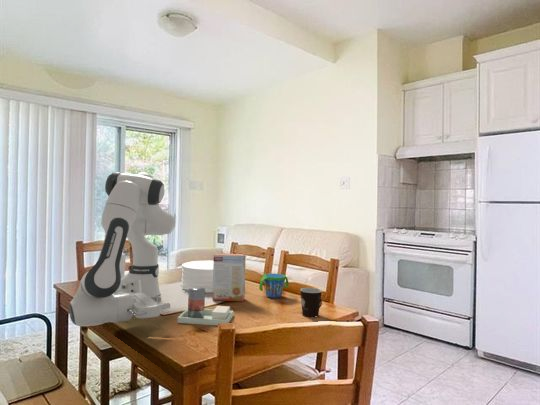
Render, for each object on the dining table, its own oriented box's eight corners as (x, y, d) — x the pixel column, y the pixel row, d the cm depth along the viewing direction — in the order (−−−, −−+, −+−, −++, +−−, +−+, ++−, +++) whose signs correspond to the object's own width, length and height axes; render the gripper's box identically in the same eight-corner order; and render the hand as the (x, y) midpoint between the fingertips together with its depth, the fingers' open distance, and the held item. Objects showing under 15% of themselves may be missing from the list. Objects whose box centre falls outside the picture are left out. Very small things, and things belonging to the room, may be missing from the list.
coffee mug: (299, 311, 152) (299, 287, 152) (319, 312, 152) (320, 288, 152) (300, 320, 140) (301, 294, 140) (323, 321, 140) (323, 295, 140)
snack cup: (282, 292, 184) (283, 272, 184) (293, 297, 174) (294, 276, 174) (254, 295, 177) (255, 274, 177) (264, 300, 167) (264, 278, 167)
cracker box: (244, 298, 169) (246, 253, 170) (242, 302, 163) (244, 255, 164) (215, 297, 171) (216, 252, 171) (211, 300, 165) (213, 254, 165)
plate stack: (221, 279, 212) (221, 259, 213) (244, 289, 189) (245, 267, 189) (174, 283, 197) (174, 262, 197) (192, 295, 174) (193, 271, 174)
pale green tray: (177, 324, 131) (177, 317, 131) (188, 314, 143) (188, 308, 143) (226, 327, 130) (227, 320, 130) (233, 317, 142) (233, 310, 142)
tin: (185, 320, 134) (186, 290, 134) (190, 315, 140) (191, 286, 140) (201, 321, 134) (202, 291, 134) (205, 316, 140) (206, 287, 140)
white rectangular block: (211, 322, 132) (212, 311, 132) (216, 316, 140) (217, 305, 140) (225, 323, 132) (225, 312, 132) (229, 317, 140) (230, 306, 140)
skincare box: (103, 283, 192) (104, 253, 192) (110, 280, 198) (111, 252, 198) (118, 284, 190) (119, 254, 190) (125, 281, 197) (126, 253, 197)
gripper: (132, 305, 114) (175, 299, 121) (117, 291, 130) (156, 287, 138) (132, 325, 113) (175, 318, 121) (117, 309, 130) (155, 304, 138)
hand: (165, 301), depth 130 cm, fingers open, 8 cm apart
